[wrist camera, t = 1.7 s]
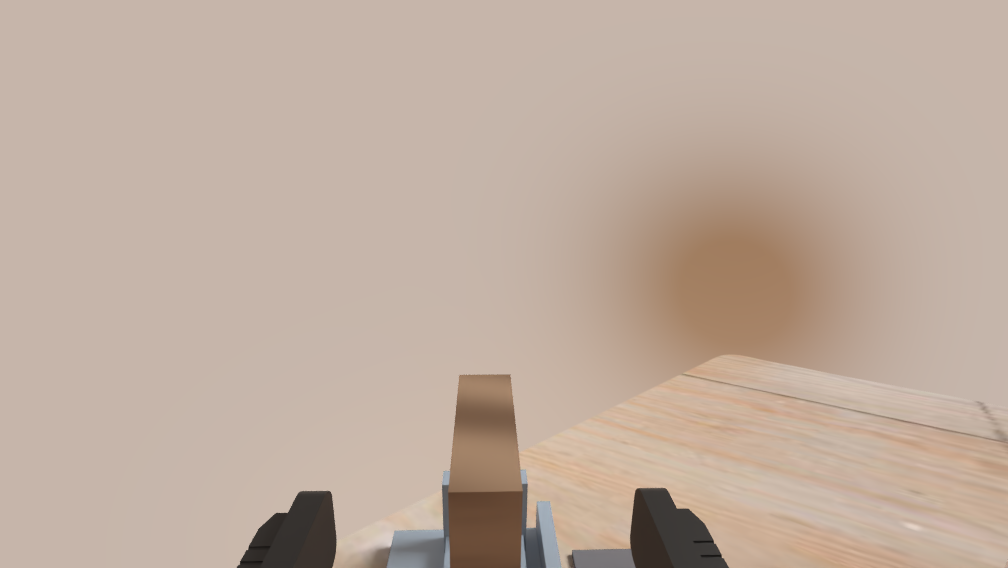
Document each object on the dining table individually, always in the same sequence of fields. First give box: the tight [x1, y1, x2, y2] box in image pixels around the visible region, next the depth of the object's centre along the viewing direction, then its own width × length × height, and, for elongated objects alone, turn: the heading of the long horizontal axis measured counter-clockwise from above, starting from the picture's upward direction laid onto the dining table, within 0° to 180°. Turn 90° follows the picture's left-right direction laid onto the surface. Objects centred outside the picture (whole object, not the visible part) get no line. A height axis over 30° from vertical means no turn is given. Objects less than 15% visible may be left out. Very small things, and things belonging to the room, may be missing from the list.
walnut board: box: [448, 375, 523, 568], centre depth 27 cm, size 10×3×16 cm, turn 2°
